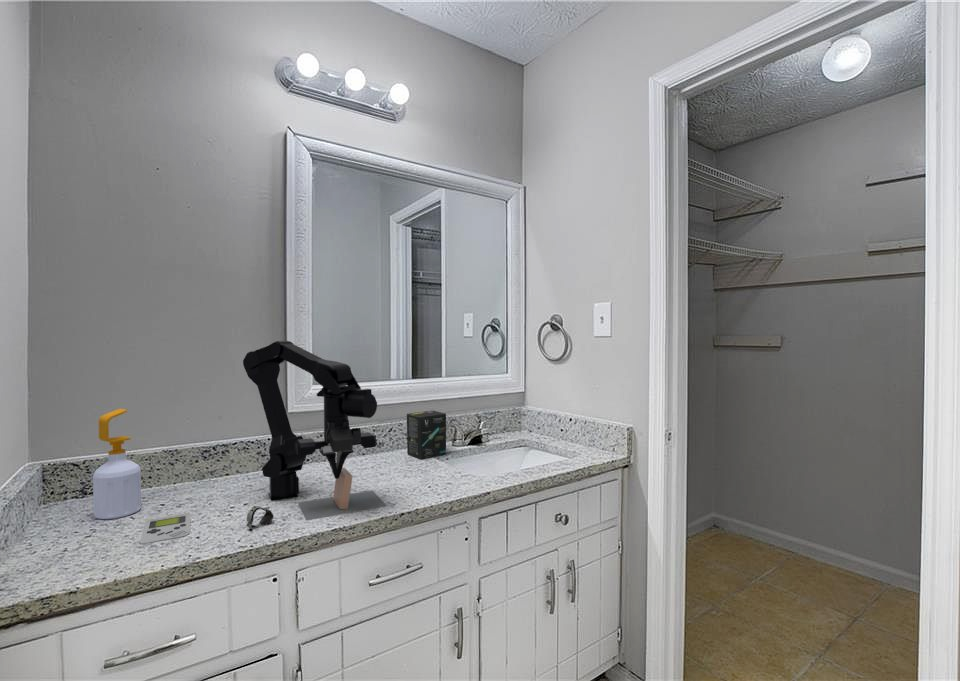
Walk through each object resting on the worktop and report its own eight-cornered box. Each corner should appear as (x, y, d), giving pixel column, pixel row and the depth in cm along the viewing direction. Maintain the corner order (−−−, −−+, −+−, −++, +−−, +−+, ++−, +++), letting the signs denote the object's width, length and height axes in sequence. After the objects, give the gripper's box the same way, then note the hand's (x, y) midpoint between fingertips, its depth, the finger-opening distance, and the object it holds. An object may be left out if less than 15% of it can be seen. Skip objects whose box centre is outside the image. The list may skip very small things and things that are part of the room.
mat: (306, 522, 111) (306, 520, 111) (297, 504, 122) (297, 502, 122) (387, 507, 120) (387, 505, 120) (372, 491, 131) (372, 490, 131)
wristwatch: (262, 535, 107) (276, 513, 110) (244, 524, 104) (258, 502, 107) (256, 532, 109) (270, 511, 112) (238, 522, 106) (252, 501, 109)
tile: (340, 509, 117) (344, 475, 117) (332, 499, 124) (337, 467, 124) (348, 509, 118) (352, 475, 118) (340, 498, 125) (345, 467, 125)
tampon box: (432, 449, 178) (431, 409, 177) (447, 454, 171) (447, 413, 170) (406, 454, 171) (405, 413, 170) (420, 460, 164) (420, 416, 163)
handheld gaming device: (139, 543, 99) (145, 518, 112) (139, 546, 99) (145, 521, 112) (189, 533, 103) (190, 511, 116) (189, 537, 103) (190, 514, 116)
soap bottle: (148, 510, 118) (147, 409, 117) (104, 522, 110) (102, 414, 110) (130, 503, 123) (128, 406, 122) (86, 515, 115) (84, 411, 114)
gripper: (300, 424, 108) (301, 493, 109) (382, 416, 117) (383, 481, 117) (294, 416, 118) (294, 480, 118) (370, 410, 127) (370, 469, 127)
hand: (336, 478), depth 120 cm, fingers closed
